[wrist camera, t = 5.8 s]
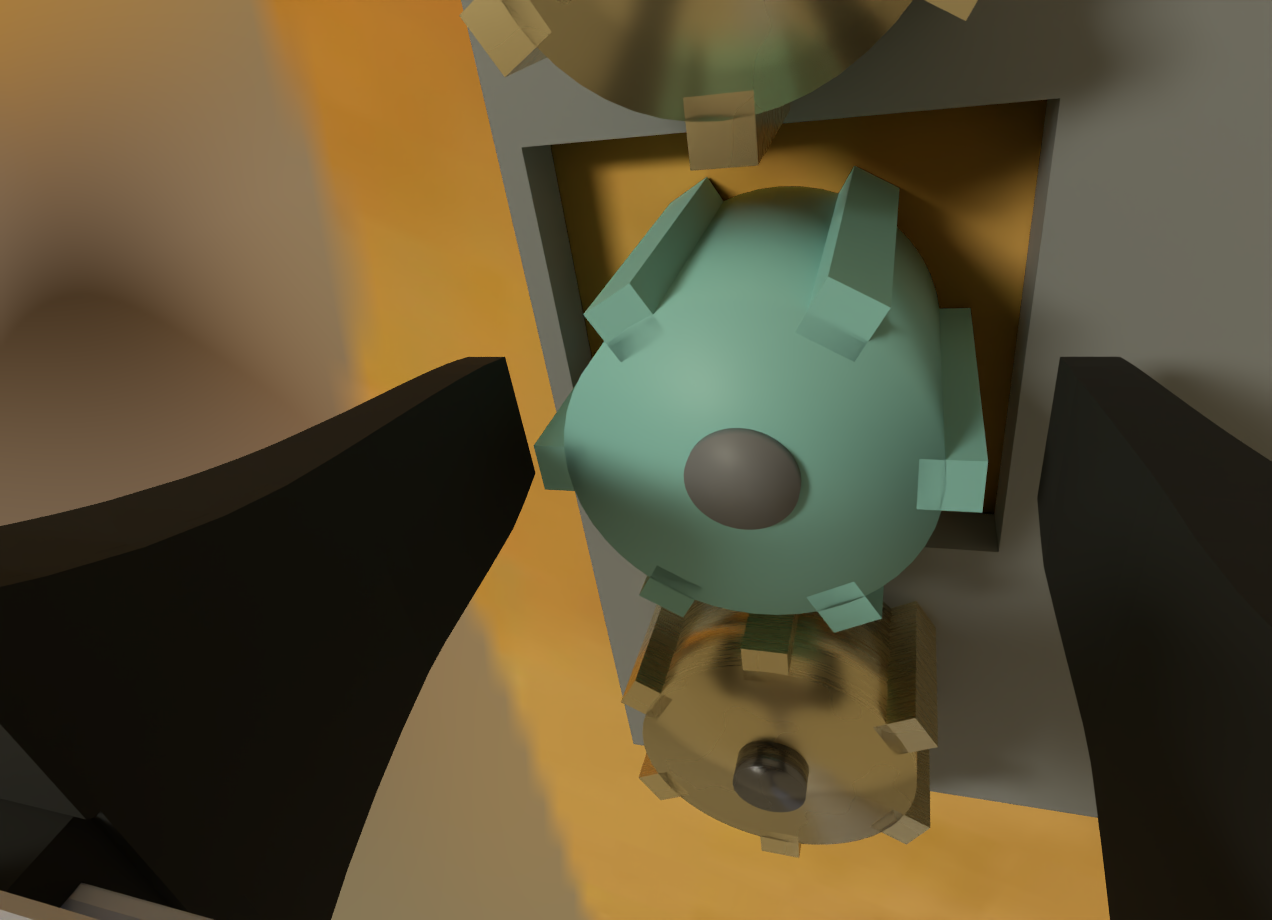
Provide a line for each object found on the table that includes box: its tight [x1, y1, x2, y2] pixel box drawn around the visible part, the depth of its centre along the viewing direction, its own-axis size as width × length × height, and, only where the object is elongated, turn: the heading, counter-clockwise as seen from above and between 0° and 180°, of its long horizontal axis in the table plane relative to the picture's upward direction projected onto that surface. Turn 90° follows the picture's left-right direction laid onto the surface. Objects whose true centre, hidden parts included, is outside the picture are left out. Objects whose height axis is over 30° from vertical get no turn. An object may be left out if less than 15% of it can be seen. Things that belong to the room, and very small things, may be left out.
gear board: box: [459, 0, 1272, 858], centre depth 10 cm, size 20×15×4 cm
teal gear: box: [534, 166, 988, 633], centre depth 11 cm, size 5×5×4 cm
